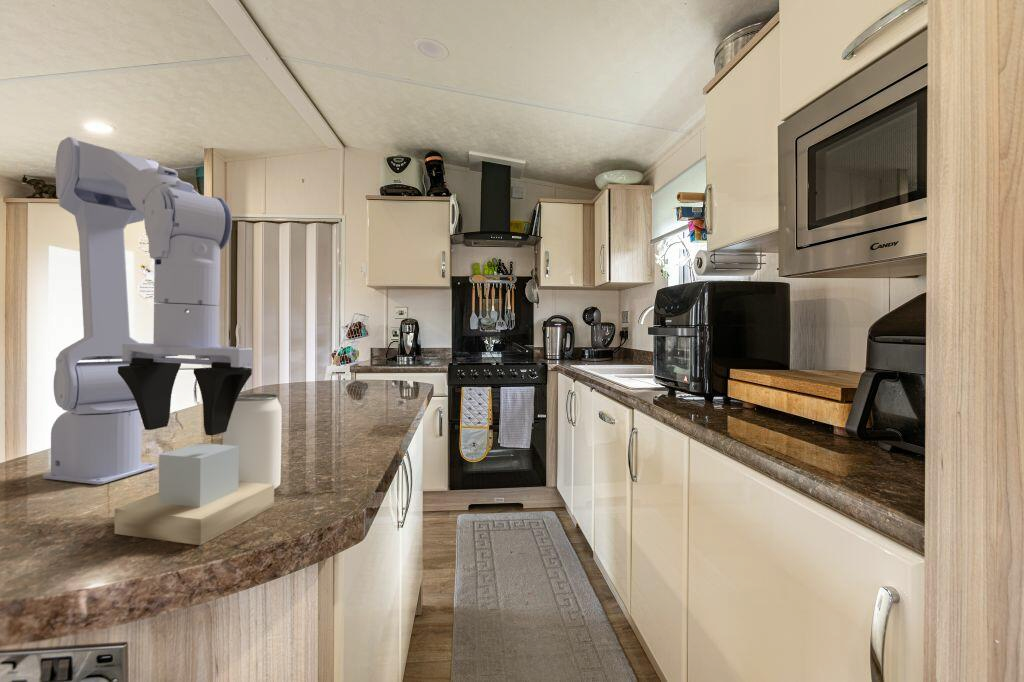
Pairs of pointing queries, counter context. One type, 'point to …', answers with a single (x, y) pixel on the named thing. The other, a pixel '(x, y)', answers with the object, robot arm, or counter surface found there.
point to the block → (198, 474)
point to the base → (193, 515)
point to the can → (257, 437)
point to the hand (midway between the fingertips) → (185, 430)
